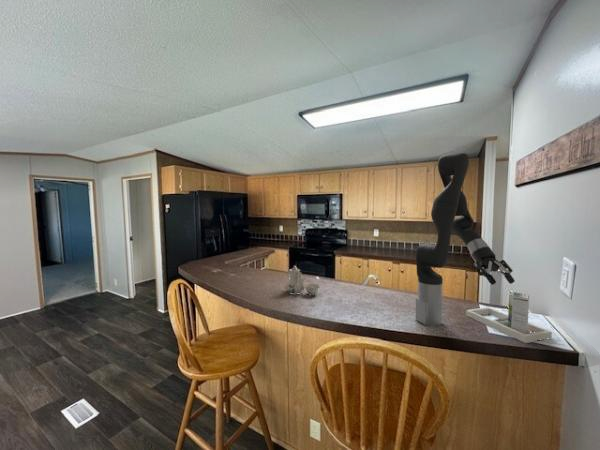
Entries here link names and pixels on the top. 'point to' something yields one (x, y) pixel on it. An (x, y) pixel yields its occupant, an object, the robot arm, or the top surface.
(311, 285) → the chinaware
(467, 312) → the two-slot holder
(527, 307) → the syrup box
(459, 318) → the top surface
